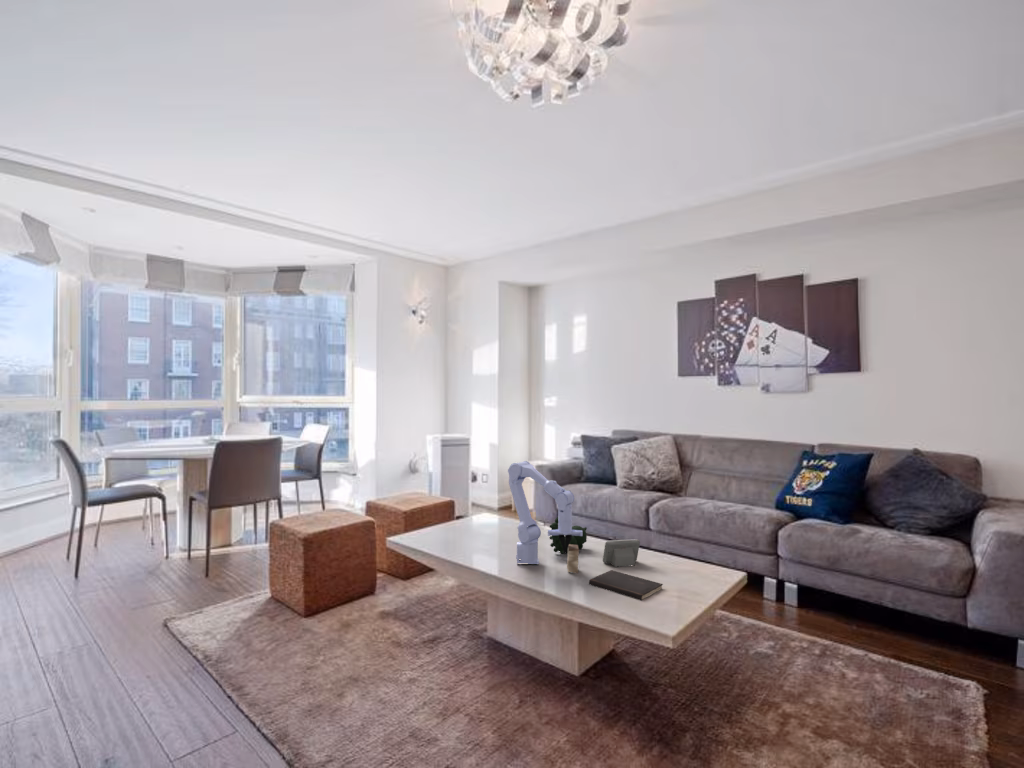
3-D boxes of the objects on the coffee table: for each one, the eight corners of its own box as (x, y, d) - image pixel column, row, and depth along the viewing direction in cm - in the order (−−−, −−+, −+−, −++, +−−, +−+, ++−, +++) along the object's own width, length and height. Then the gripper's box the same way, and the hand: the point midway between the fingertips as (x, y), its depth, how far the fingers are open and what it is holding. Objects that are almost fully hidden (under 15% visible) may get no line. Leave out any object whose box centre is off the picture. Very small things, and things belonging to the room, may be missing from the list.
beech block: (568, 572, 214) (569, 548, 214) (567, 567, 220) (568, 544, 220) (577, 573, 214) (578, 549, 214) (576, 568, 220) (577, 544, 220)
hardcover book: (611, 575, 213) (611, 569, 213) (662, 590, 197) (662, 584, 197) (588, 585, 201) (588, 579, 202) (641, 601, 186) (641, 595, 186)
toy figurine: (561, 562, 233) (595, 546, 250) (559, 521, 232) (593, 507, 249) (546, 557, 239) (579, 542, 257) (543, 517, 239) (577, 504, 256)
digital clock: (637, 560, 231) (637, 536, 231) (642, 567, 222) (642, 542, 222) (601, 560, 231) (601, 536, 231) (604, 567, 222) (604, 542, 222)
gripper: (548, 522, 214) (548, 555, 213) (583, 522, 213) (583, 555, 213) (547, 518, 221) (547, 550, 220) (581, 518, 220) (581, 550, 220)
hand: (565, 552), depth 217 cm, fingers closed
